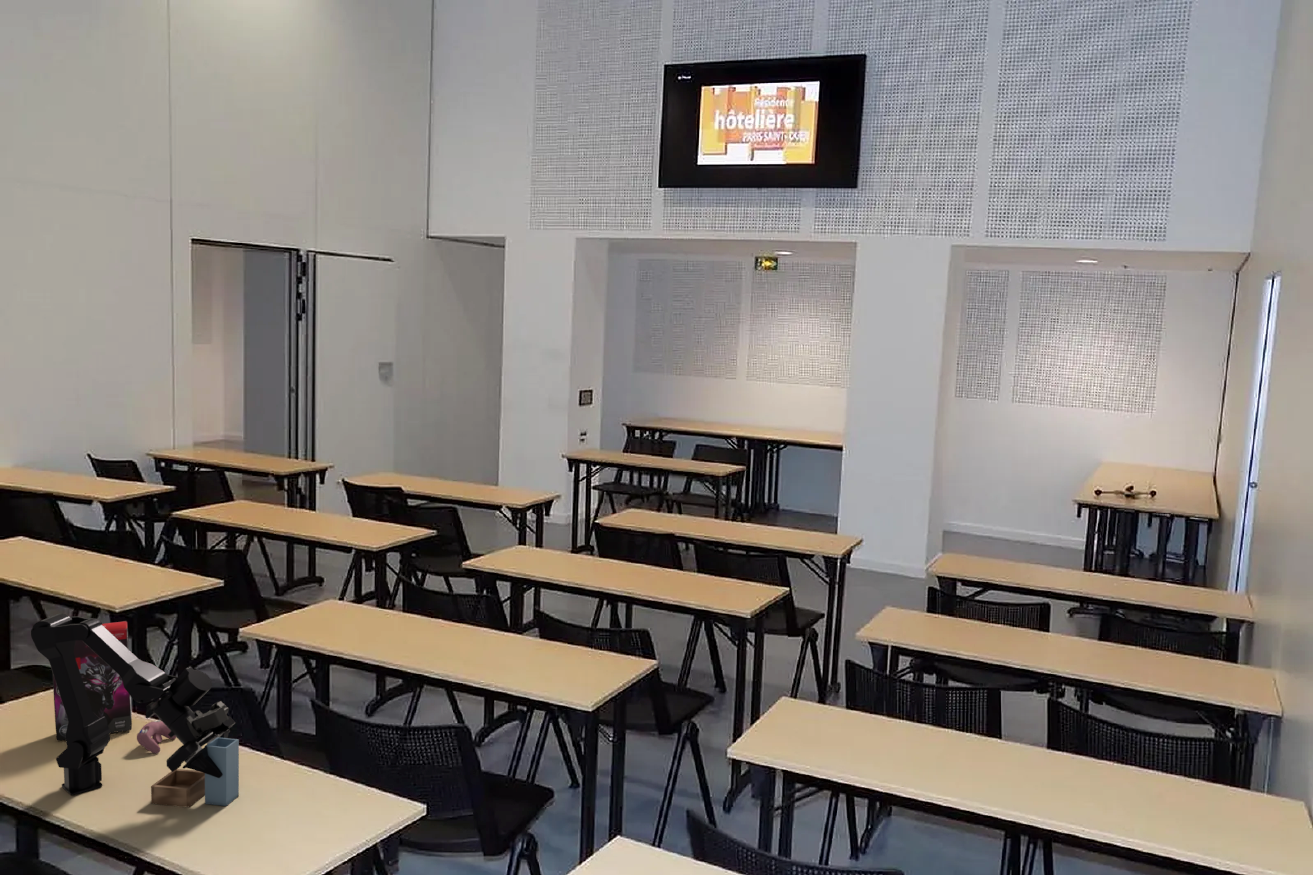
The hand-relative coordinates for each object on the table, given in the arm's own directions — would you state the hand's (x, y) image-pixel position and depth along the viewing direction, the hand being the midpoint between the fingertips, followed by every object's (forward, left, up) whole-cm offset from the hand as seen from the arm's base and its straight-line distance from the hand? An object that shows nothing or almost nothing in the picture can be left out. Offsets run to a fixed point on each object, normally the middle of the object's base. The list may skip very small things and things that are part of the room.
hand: (227, 771), depth 228 cm
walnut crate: (-6, +9, -7) cm, 13 cm away
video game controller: (+1, +40, -7) cm, 40 cm away
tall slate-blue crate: (-1, +1, -7) cm, 7 cm away
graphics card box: (-7, +59, -7) cm, 59 cm away
